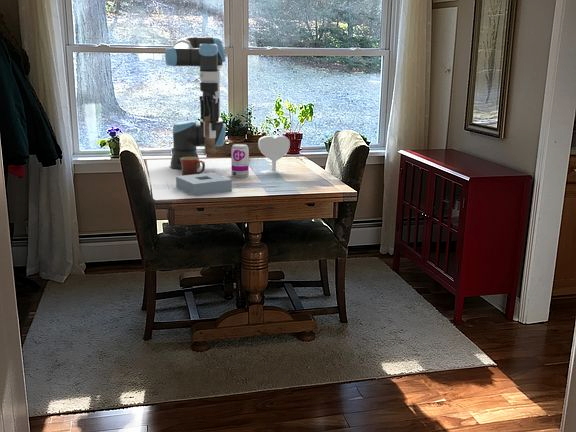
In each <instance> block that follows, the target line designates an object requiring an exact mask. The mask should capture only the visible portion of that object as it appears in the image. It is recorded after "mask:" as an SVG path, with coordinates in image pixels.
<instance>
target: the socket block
mask: <svg viewBox="0 0 576 432" xmlns="http://www.w3.org/2000/svg"><path fill="white" fill-rule="evenodd" d="M175 188H176V189H179V190H181V191H183V192H185V193H188V194H190V195H192V196H193V197H196V196H203V195H210V194H211V195H212V194H219V193H227V192H232V190H233V180H232V178H228V177H226V176H223V175H220V174H218V173H215V172H204V173H203V172H202V173H200V174H193V175H184V176H182V175H177V176H175Z"/></svg>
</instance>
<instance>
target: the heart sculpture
mask: <svg viewBox="0 0 576 432" xmlns="http://www.w3.org/2000/svg"><path fill="white" fill-rule="evenodd" d="M257 145H258V150H259V151H260V152H261V154H262V155H263V156H265V158H267V159H269V160H270V161H271V169H267V170H261V171H260V173H261V174H269V173H270V174H272V173H273V174H274V173H287V171H288V170H283V169H277V161H278V160H280V159H282V158H284V156H286V155H287V153H288V151H289V150H290V146H291V141H290V139H289V138H288V137H287V136H284V135H276V136H271V135H264V136H261V137H260V138H258V142H257Z"/></svg>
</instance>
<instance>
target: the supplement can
mask: <svg viewBox="0 0 576 432" xmlns="http://www.w3.org/2000/svg"><path fill="white" fill-rule="evenodd" d="M230 150H231V154H230V155H231V156H230V157H231V176H232V177H234V178H246V177H248V176H249V175H250V173H249V171H250V167H249V166H250V164H249V162H250V161H249V159H250V158H249V157H250V156H249V155H250V151H249V146H248V145H247V144H244V143H237V144H236V143H235V144H232V147H230Z"/></svg>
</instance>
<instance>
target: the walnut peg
mask: <svg viewBox="0 0 576 432" xmlns="http://www.w3.org/2000/svg"><path fill="white" fill-rule="evenodd" d="M209 122H210V116H204V124H205V146H204V154H205V155H206V156H207V155H209V156H211V155H216V146H215V138H209Z"/></svg>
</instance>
